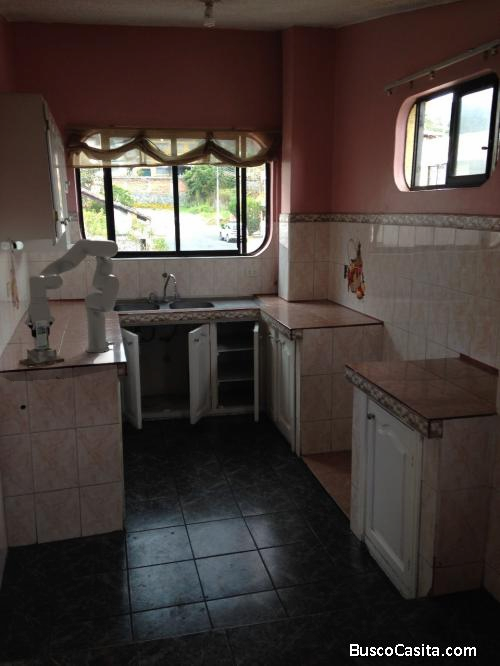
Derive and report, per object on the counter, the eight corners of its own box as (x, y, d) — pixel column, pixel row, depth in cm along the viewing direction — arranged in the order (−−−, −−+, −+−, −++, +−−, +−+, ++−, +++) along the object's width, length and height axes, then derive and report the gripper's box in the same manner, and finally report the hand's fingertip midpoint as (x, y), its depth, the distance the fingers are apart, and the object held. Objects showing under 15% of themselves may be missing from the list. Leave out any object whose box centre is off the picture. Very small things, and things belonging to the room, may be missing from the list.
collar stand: (53, 357, 310) (52, 344, 309) (64, 361, 302) (63, 348, 301) (19, 362, 298) (18, 350, 296) (30, 367, 290) (29, 354, 288)
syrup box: (37, 349, 295) (35, 320, 292) (34, 347, 299) (32, 319, 296) (49, 348, 298) (47, 319, 295) (45, 346, 302) (43, 317, 300)
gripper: (51, 298, 302) (53, 332, 306) (18, 301, 290) (20, 337, 294) (58, 299, 297) (60, 335, 301) (25, 303, 285) (27, 339, 289)
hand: (40, 335), depth 297 cm, fingers closed on syrup box, 6 cm apart
